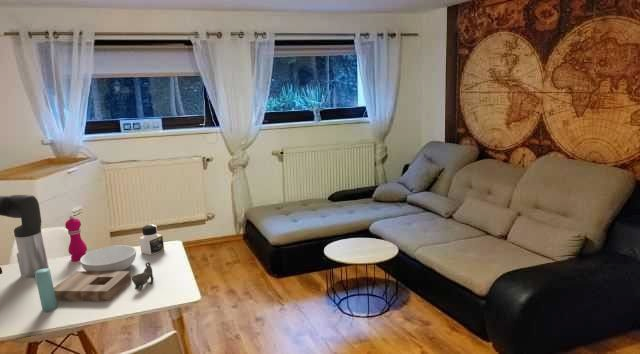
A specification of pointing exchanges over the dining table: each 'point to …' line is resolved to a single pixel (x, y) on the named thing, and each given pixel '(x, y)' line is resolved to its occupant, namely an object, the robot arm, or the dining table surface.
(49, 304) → the pin
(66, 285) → the socket board
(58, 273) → the dining table surface
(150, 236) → the medicine bottle
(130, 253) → the serving bowl
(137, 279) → the dog figurine
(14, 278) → the dining table surface
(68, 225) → the pepper mill
